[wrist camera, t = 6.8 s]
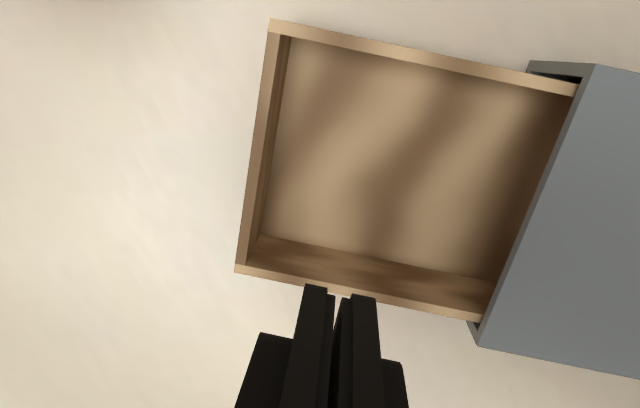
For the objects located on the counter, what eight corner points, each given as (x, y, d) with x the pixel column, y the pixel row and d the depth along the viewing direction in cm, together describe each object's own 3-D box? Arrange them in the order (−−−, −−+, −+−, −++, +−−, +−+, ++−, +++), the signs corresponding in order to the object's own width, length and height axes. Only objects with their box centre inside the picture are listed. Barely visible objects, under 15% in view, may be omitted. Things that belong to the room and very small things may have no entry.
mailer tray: (597, 91, 24) (658, 101, 20) (511, 289, 29) (543, 336, 25) (285, 24, 24) (269, 17, 19) (252, 235, 29) (233, 272, 24)
